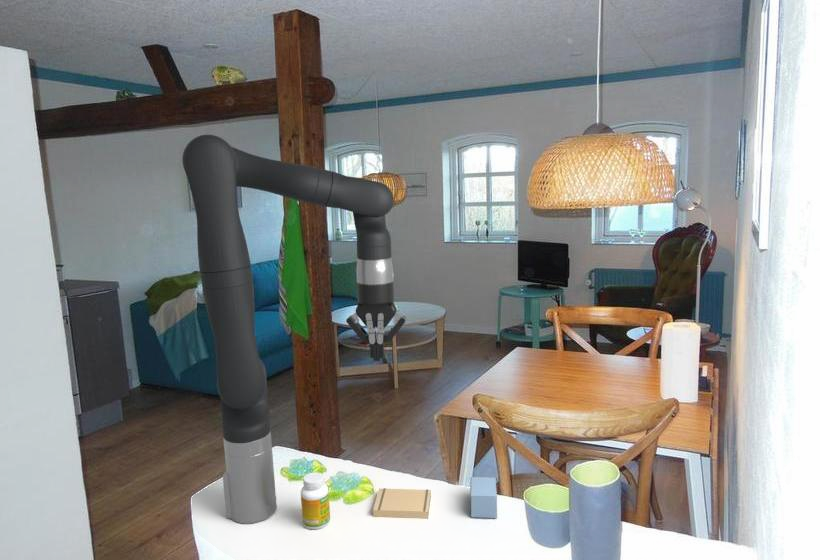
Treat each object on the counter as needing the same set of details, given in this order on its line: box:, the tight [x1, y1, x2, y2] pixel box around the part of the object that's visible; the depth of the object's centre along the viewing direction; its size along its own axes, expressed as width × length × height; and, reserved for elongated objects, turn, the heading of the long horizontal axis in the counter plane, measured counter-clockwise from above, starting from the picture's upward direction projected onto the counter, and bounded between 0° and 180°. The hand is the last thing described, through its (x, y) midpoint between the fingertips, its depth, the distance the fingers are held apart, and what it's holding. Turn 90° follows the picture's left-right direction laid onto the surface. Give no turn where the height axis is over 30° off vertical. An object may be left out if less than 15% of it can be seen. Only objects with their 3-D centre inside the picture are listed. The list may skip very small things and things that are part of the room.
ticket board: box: [372, 487, 432, 519], centre depth 122 cm, size 11×8×2 cm
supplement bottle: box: [300, 471, 331, 530], centre depth 117 cm, size 5×5×10 cm
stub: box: [469, 476, 498, 519], centre depth 120 cm, size 5×7×5 cm
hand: (377, 359), depth 126 cm, fingers closed
